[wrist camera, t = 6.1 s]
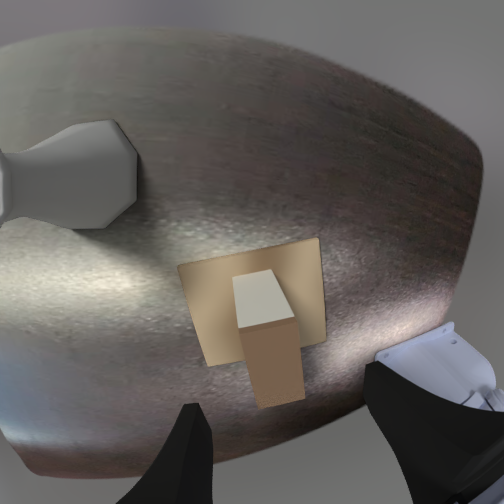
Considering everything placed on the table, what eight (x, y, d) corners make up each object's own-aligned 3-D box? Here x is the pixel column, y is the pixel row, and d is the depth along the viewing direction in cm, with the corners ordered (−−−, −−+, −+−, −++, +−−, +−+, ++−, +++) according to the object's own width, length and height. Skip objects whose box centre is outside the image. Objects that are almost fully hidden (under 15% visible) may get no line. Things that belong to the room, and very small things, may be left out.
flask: (65, 244, 16) (-30, 309, 7) (37, 148, 14) (-71, 151, 4) (155, 209, 16) (82, 262, 7) (124, 101, 14) (34, 46, 5)
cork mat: (316, 237, 18) (318, 238, 18) (324, 338, 20) (326, 341, 20) (178, 265, 17) (177, 267, 17) (208, 363, 20) (208, 366, 20)
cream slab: (271, 269, 18) (297, 321, 12) (281, 333, 19) (305, 398, 13) (232, 277, 18) (239, 334, 11) (246, 341, 19) (258, 409, 13)
